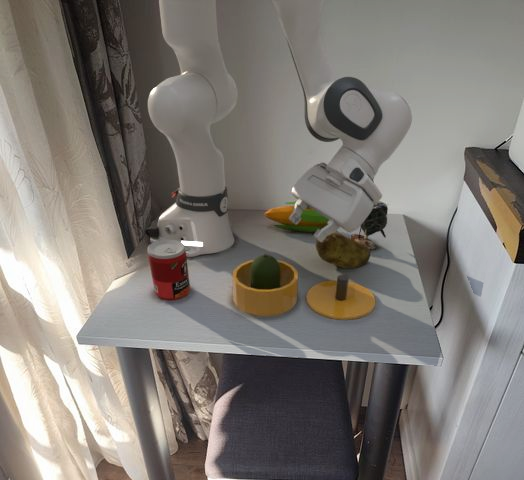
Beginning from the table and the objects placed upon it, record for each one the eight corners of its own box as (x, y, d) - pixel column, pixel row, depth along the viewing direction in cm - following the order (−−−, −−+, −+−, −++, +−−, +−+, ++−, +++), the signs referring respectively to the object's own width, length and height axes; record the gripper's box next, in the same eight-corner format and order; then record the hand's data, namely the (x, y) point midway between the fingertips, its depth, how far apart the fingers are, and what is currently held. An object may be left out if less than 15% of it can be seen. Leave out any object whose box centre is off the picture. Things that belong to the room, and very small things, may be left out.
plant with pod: (387, 254, 117) (401, 173, 104) (341, 252, 118) (351, 172, 105) (383, 240, 123) (396, 162, 111) (340, 238, 124) (349, 161, 111)
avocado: (246, 302, 99) (244, 258, 93) (258, 288, 104) (258, 245, 97) (272, 309, 97) (272, 264, 91) (284, 294, 102) (285, 251, 95)
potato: (366, 277, 108) (370, 245, 103) (311, 269, 111) (314, 238, 106) (369, 260, 114) (374, 230, 109) (318, 254, 117) (320, 224, 112)
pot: (222, 308, 98) (220, 282, 94) (251, 279, 108) (250, 254, 104) (281, 324, 94) (281, 297, 90) (306, 292, 103) (307, 266, 99)
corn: (337, 209, 120) (261, 203, 123) (334, 237, 124) (261, 231, 127) (339, 200, 126) (266, 195, 129) (336, 227, 130) (266, 222, 133)
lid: (295, 311, 97) (297, 286, 93) (319, 279, 107) (321, 255, 104) (363, 329, 92) (367, 303, 88) (382, 293, 102) (386, 269, 99)
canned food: (180, 304, 99) (174, 258, 93) (148, 298, 102) (139, 252, 95) (196, 287, 105) (191, 242, 98) (165, 281, 107) (158, 236, 100)
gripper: (310, 151, 98) (270, 205, 100) (373, 180, 84) (323, 241, 86) (326, 169, 102) (287, 220, 105) (388, 199, 88) (341, 258, 91)
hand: (304, 230), depth 95 cm, fingers open, 8 cm apart
